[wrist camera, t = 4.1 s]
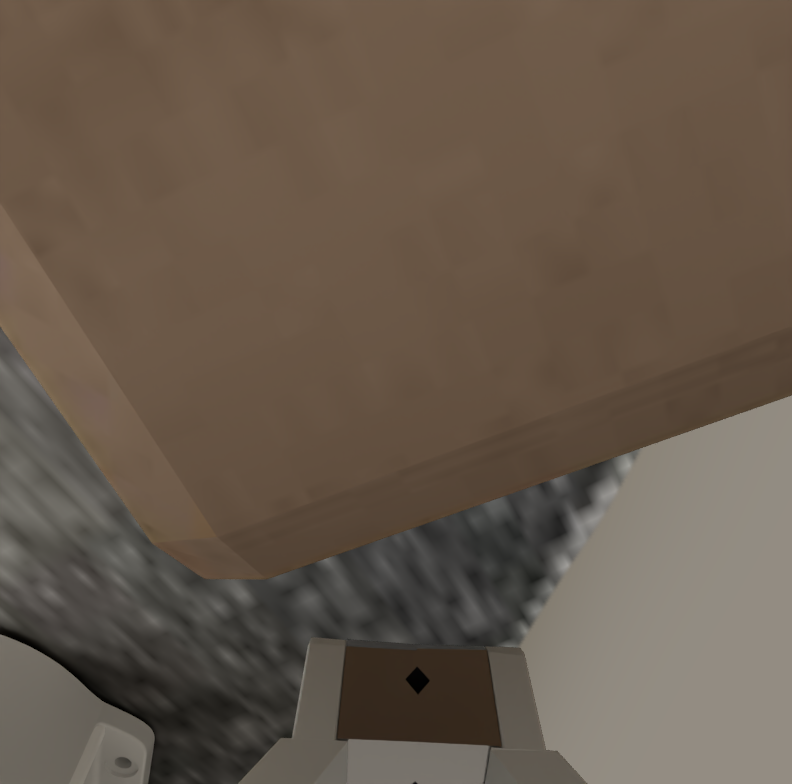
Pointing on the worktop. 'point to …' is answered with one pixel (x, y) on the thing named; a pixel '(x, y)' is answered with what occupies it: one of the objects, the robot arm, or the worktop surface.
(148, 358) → the block
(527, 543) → the worktop surface
